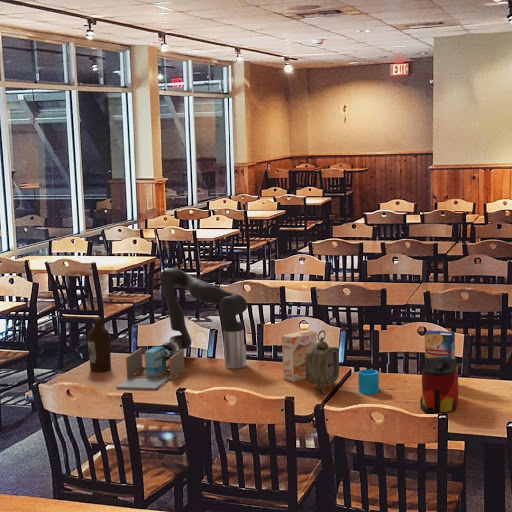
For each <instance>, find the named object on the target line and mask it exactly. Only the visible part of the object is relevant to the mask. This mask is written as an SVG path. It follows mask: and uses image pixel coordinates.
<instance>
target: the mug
mask: <svg viewBox="0 0 512 512" xmlns="http://www.w3.org/2000/svg"><path fill="white" fill-rule="evenodd" d="M357 373H358V376H357V377H358V381H357V382H358V393H359V394H361V395H362V394H363V395H376V394H379V393H380V388H379V387H380V384H379V383H380V379H379V371H378V370H376V369H361V370H359V371H357Z"/></svg>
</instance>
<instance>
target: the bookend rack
mask: <svg viewBox="0 0 512 512" xmlns="http://www.w3.org/2000/svg"><path fill="white" fill-rule="evenodd" d="M184 350H185V349H181V350H180V351H179V352H178V353H176V354H175V355H173V356H172V357H171V358H170V359H169V367H168V366H166V369H170V370H169V371H170V374H169V377H167V376H166V377H163V376H158V377H146V376H135V375H136V374H135V373H137V372H138V371H140V370H141V369H145V366H143V352H142V351H143V350H142V347H141V348H139V349H137V350H136V351H133V352H132V353H131V354H129V355H127V356H125V365H126V380H127V379H128V378H148V379H167V381H170V380H172V379H173V380H175V379H176V378H177V377H178V376H180V375H181V374H182V373H183V372H185V371H186V370H185V352H184ZM184 370H185V371H184ZM141 371H142V370H141ZM141 371H140V372H141ZM182 371H183V372H182ZM181 372H182V373H181ZM138 373H139V372H138ZM138 373H137V374H138ZM180 373H181V374H180ZM134 374H135V375H134ZM179 374H180V375H179ZM133 375H134V376H133ZM177 375H178V376H177ZM176 376H177V377H176ZM175 377H176V378H175ZM174 378H175V379H174ZM173 380H172V381H173Z"/></svg>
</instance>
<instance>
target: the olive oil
mask: <svg viewBox="0 0 512 512" xmlns="http://www.w3.org/2000/svg"><path fill="white" fill-rule="evenodd" d="M93 319H94V320H93V327H92V328H91V329H90V331H88V333H87V338H86V341H87V348H88V349H87V350H88V355H89V369H90V371H91V372H93V373H103V372H108V371H111V369H112V362H111V361H112V358H111V356H112V355H111V334H110V332H109V330H108V329H106V328H105V326H103V324H102V317H101V316H94V317H93Z"/></svg>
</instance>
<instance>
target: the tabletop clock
mask: <svg viewBox="0 0 512 512" xmlns="http://www.w3.org/2000/svg"><path fill="white" fill-rule="evenodd" d="M321 333H323V334H324V335H323V337H322V336H320V335H321ZM326 333H327V332H326V331H325V330H323V329H322V330H320V331H319V332H318V334H317V345H316V347H315V348H313V349H311V350H309V351H308V352H307V353H306V356H305V371H306V378H305V379H306V381H308V382H309V383H310V384H316V385H317V386H315V388H316V390H318V391H319V390H320V389H321V391H320V392H321V394H322V395H324V394H325V393H326V391H325V389H324V385H326V386H329V385H331V387H332V388H335V387H336V386H337V385H336V383H335V382H336V381H337V380H338V378H339V373H340V357H339V356H340V355H339V350H338V347H336V346H329V344H328V343H327V342H326V341H324V340H325V338H326Z"/></svg>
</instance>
